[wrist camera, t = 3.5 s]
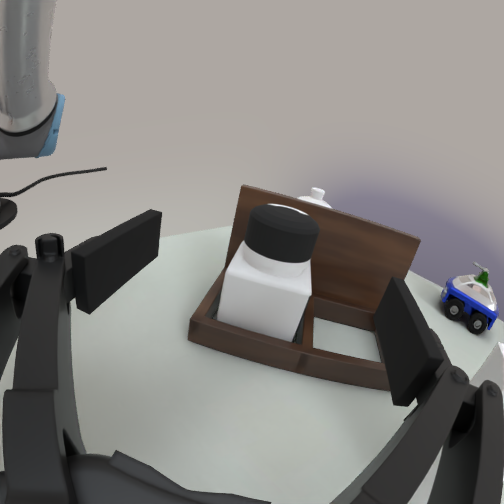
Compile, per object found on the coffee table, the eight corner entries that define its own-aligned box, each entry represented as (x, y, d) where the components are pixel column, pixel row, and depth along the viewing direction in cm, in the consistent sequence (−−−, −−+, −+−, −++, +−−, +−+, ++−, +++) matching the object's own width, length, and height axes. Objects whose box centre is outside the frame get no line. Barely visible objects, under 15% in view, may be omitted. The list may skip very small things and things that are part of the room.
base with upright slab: (389, 518, 11) (528, 416, 6) (396, 426, 19) (480, 314, 14) (474, 515, 9) (590, 419, 4) (467, 438, 17) (548, 341, 12)
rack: (395, 392, 23) (462, 285, 18) (187, 340, 24) (205, 209, 20) (378, 324, 33) (418, 237, 28) (223, 281, 35) (243, 184, 30)
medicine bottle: (287, 356, 25) (332, 236, 20) (212, 336, 26) (237, 210, 21) (291, 313, 32) (325, 212, 27) (229, 297, 32) (252, 192, 27)
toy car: (440, 293, 46) (460, 249, 42) (487, 322, 39) (510, 278, 35) (432, 309, 40) (457, 258, 36) (487, 342, 32) (516, 292, 29)
